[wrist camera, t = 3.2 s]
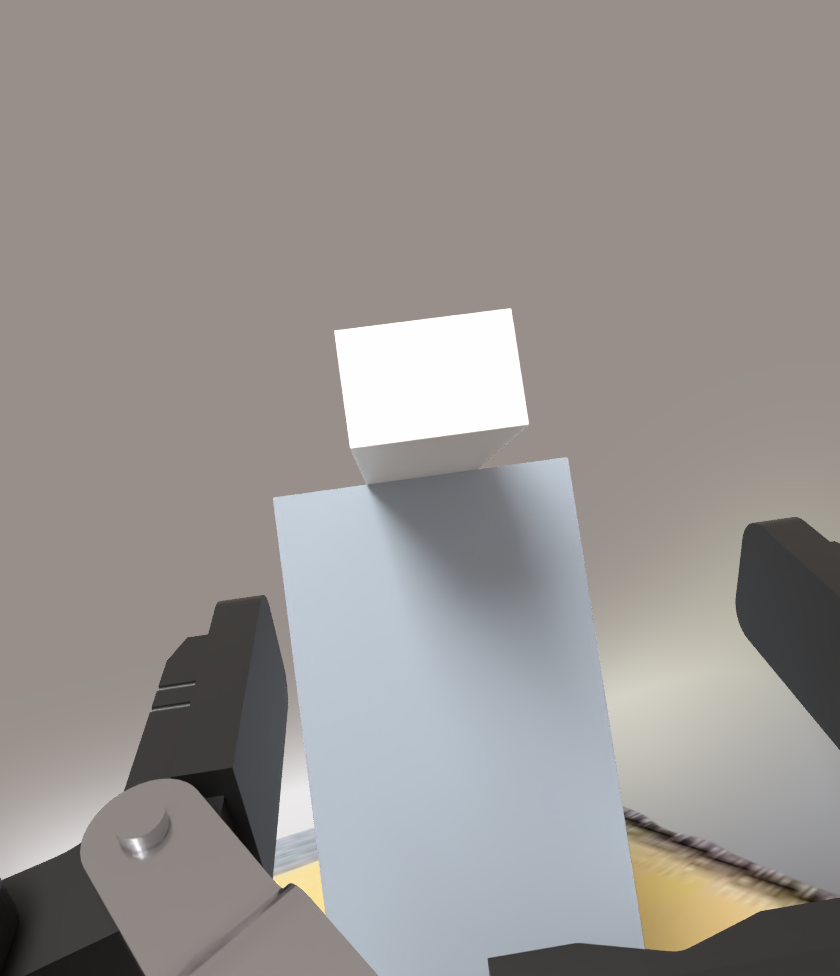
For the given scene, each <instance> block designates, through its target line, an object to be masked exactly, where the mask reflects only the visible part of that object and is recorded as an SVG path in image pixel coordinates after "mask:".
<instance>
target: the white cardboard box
mask: <svg viewBox="0 0 840 976" xmlns="http://www.w3.org/2000/svg"><path fill="white" fill-rule="evenodd" d="M334 332H335V339H336V347H337V355H338V361H339V370H340V376H341V384H342V392H343V399H344V406H345V414H346V421H347V429H348V436H349V444H350V449H351V451H352V454H353V456H354V458H355V461H356V463H357V465H358V467H359V469H360V472H361V474H362V476H363V479H364V481H365V483H366V485H369V484H377V483H384V482H391V481H399V480H406V479H413V478H420V477H428V476H435V475H442V474H449V473H457V472H464V471H471V470H477V469H478V468H479V467H481V466H482V465H483V464H484V463H485V462H486V461H487V460H489V459H490V458H491V457H492V456H493V455H494V454H496V453H497V452H498V451H499V450H500V449H501V448H502V447H503V446H505V445H506V444H507V443H508V442H509V441H511V440H512V439H513V438H514V437H515V436H516V435H517V434H518V433H520V432H521V431H522V430H523V429H524V428H526V427H527V426H528V425H529V422H528V416H527V409H526V403H525V396H524V390H523V383H522V376H521V370H520V364H519V357H518V350H517V344H516V337H515V331H514V324H513V318H512V311H511V309H503V310H494V311H487V312H478V313H470V314H463V315H455V316H447V317H439V318H431V319H424V320H415V321H407V322H399V323H391V324H384V325H375V326H368V327H360V328H352V329H345V330H336V331H334Z"/></svg>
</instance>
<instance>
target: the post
mask: <svg viewBox="0 0 840 976" xmlns="http://www.w3.org/2000/svg"><path fill="white" fill-rule="evenodd" d="M273 502H274V510H275V518H276V526H277V534H278V541H279V550H280V557H281V565H282V573H283V580H284V589H285V597H286V604H287V613H288V620H289V629H290V636H291V644H292V651H293V660H294V667H295V675H296V683H297V691H298V700H299V708H300V715H301V723H302V731H303V739H304V747H305V755H306V762H307V770H308V778H309V787H310V794H311V802H312V810H313V818H314V826H315V834H316V842H317V850H318V858H319V866H320V873H321V881H322V889H323V897H324V905H325V913H326V917H327V918H328V919H329V920H330V921H331V922H332V923H333V925H334V926H335V927H336V928H337V929H338V930H339V931H340V932H341V934H342V935H343V936H344V937H345V938H346V939H347V940H348V942H349V943H350V944H351V945H352V946H353V947H354V948H355V950H356V951H357V952H358V953H359V954H360V955H361V956H362V958H363V959H364V960H365V961H366V962H367V963H368V964H369V966H370V967H371V968H372V969H373V970H374V971H375V972H376V974H377V975H378V976H489V969H488V959H487V958H491V957H497V956H503V955H509V954H514V953H520V952H526V951H532V950H538V949H544V948H549V947H555V946H561V945H567V944H573V943H586V944H597V945H607V946H618V947H628V948H638V949H645V946H644V940H643V934H642V927H641V921H640V914H639V908H638V902H637V895H636V889H635V883H634V876H633V870H632V864H631V857H630V851H629V844H628V838H627V832H626V825H625V819H624V813H623V806H622V800H621V795H620V788H619V781H618V774H617V768H616V762H615V755H614V749H613V743H612V736H611V731H610V724H609V717H608V711H607V704H606V698H605V692H604V686H603V680H602V673H601V666H600V660H599V654H598V647H597V641H596V635H595V628H594V622H593V615H592V609H591V603H590V596H589V590H588V583H587V578H586V571H585V564H584V558H583V552H582V545H581V539H580V533H579V526H578V520H577V514H576V507H575V502H574V494H573V488H572V482H571V475H570V469H569V463H568V458H567V457H566V458H559V459H551V460H545V461H537V462H530V463H523V464H515V465H508V466H500V467H493V468H486V469H479V470H471V471H464V472H457V473H449V474H442V475H435V476H428V477H420V478H413V479H406V480H399V481H391V482H384V483H377V484H369V485H362V486H355V487H347V488H340V489H333V490H326V491H318V492H312V493H304V494H297V495H289V496H283V497H275V498H273Z"/></svg>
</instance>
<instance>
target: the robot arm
mask: <svg viewBox="0 0 840 976" xmlns="http://www.w3.org/2000/svg"><path fill="white" fill-rule="evenodd" d="M736 612H737V617H738V621H739V623H740V626H741V628H742V631H743V632H744V634H745V636H746V637H747V638H748V640H749V641H750V642H751V643H752V644H753V646H754V647H755V648H756V649H757V651H758V652H759V653H760V654H761V655H762V657H763V658H764V659H765V660H766V661H767V662H768V664H769V665H770V666H771V667H772V669H773V670H774V671H775V672H776V673H777V674H778V676H779V677H780V678H781V679H782V681H783V682H784V683H785V684H786V685H787V687H788V688H789V689H790V690H791V692H792V693H793V694H794V695H795V696H796V698H797V699H798V700H799V701H800V702H801V704H802V705H803V706H804V707H805V709H806V710H807V711H808V712H809V713H810V715H811V716H812V717H813V718H814V719H815V721H816V722H817V723H818V724H819V725H820V727H821V728H822V729H823V730H824V732H825V733H826V734H827V735H828V736H829V738H830V739H831V740H832V741H833V742H834V744H835V745H836V746H837V747H838V748H839V750H840V544H839V543H837V542H835V541H834V542H829V541H828V540H827V539H826V538H824V537H823V536H822V535H821V534H819V533H818V532H817V531H816V530H815V529H813V528H812V527H811V526H810V525H808V524H807V523H806V522H805V521H803V520H802V519H800V518H798V517H791V518H784V519H777V520H771V521H764V522H756V523H751V524H749V525H748V526H747V527H746V529H745V531H744V534H743V540H742V549H741V557H740V566H739V575H738V583H737V592H736ZM287 711H288V693H287V682H286V675H285V669H284V665H283V661H282V657H281V653H280V648H279V644H278V640H277V636H276V632H275V627H274V624H273V619H272V616H271V612H270V607H269V603H268V600H267V598H266V597H265V595H261V596H253V597H246V598H239V599H232V600H225V601H219V602H218V603H217V604H216V607H215V611H214V615H213V618H212V622H211V627H210V630H209V634H208V635H202V636H195V637H188V638H187V639H186V640H185V641H184V642H183V643H182V645H180V647H179V648H178V649H177V650H176V651H175V652H174V654H173V655H172V656H171V657H170V658H169V659H168V660H167V662H166V665H165V668H164V671H163V674H162V677H161V681H160V684H159V691H157V693H156V696H155V699H154V702H153V705H152V712H151V713H150V714H149V717H148V720H147V723H146V726H145V729H144V732H143V735H142V738H141V741H140V744H139V747H138V750H137V754H136V756H135V760H134V762H133V766H132V768H131V772H130V775H129V778H128V781H127V784H126V787H125V790H124V792H123V793H121V794H119V795H118V796H117V797H115V798H114V799H112V800H111V801H110V802H109V803H108V804H106V805H105V806H104V807H103V808H102V809H101V810H100V811H99V812H98V814H97V815H96V816H95V817H94V819H93V820H92V821H91V823H90V824H89V826H88V828H87V830H86V832H85V834H84V836H83V839H82V842H81V843H80V844H79V845H77V846H75V847H74V848H72V849H71V850H69V851H67V852H65V853H63V854H61V855H59V856H57V857H55V858H53V859H50V860H48V861H46V862H43V863H41V864H39V865H36V866H34V867H32V868H29V869H27V870H25V871H22V872H20V873H18V874H15V875H13V876H11V877H8V878H6V879H4V880H1V878H0V976H378V975H377V974H376V972H375V971H374V970H373V969H372V968H371V967H370V966H369V964H368V963H367V962H366V961H365V960H364V959H363V958H362V956H361V955H360V954H359V953H358V952H357V951H356V950H355V948H354V947H353V946H352V945H351V944H350V943H349V942H348V940H347V939H346V938H345V937H344V936H343V935H342V934H341V932H340V931H339V930H338V929H337V928H336V927H335V926H334V925H333V923H332V922H331V921H330V920H329V919H328V918H327V917H326V915H325V914H324V913H323V912H322V911H321V910H320V909H319V907H318V906H317V905H316V904H315V903H314V902H313V901H312V899H311V898H310V897H309V896H308V895H307V894H306V893H305V892H304V891H303V890H302V889H300V888H299V887H298V886H296V885H294V884H291V883H290V884H288V885H287V886H286V887H285V888H283V889H282V888H281V887H280V886H279V885H278V884H276V882H275V881H274V880H273V869H274V858H275V847H276V835H277V824H278V813H279V802H280V790H281V779H282V767H283V756H284V744H285V734H286V722H287ZM487 959H488V969H489V976H840V898H835V899H829V900H823V901H817V902H812V903H806V904H800V905H794V906H788V907H782V908H777V909H771V910H765V911H760V912H758V913H756V914H754V915H752V916H750V917H749V918H747V919H745V920H743V921H741V922H739V923H737V924H735V925H733V926H731V927H729V928H727V929H725V930H723V931H721V932H719V933H717V934H716V935H714V936H712V937H710V938H708V939H706V940H704V941H702V942H700V943H698V944H696V945H694V946H692V947H690V948H688V949H686V950H683V951H677V952H671V951H659V950H649V949H638V948H628V947H618V946H607V945H597V944H586V943H573V944H567V945H561V946H555V947H549V948H544V949H538V950H532V951H526V952H520V953H514V954H509V955H503V956H497V957H491V958H487Z"/></svg>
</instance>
